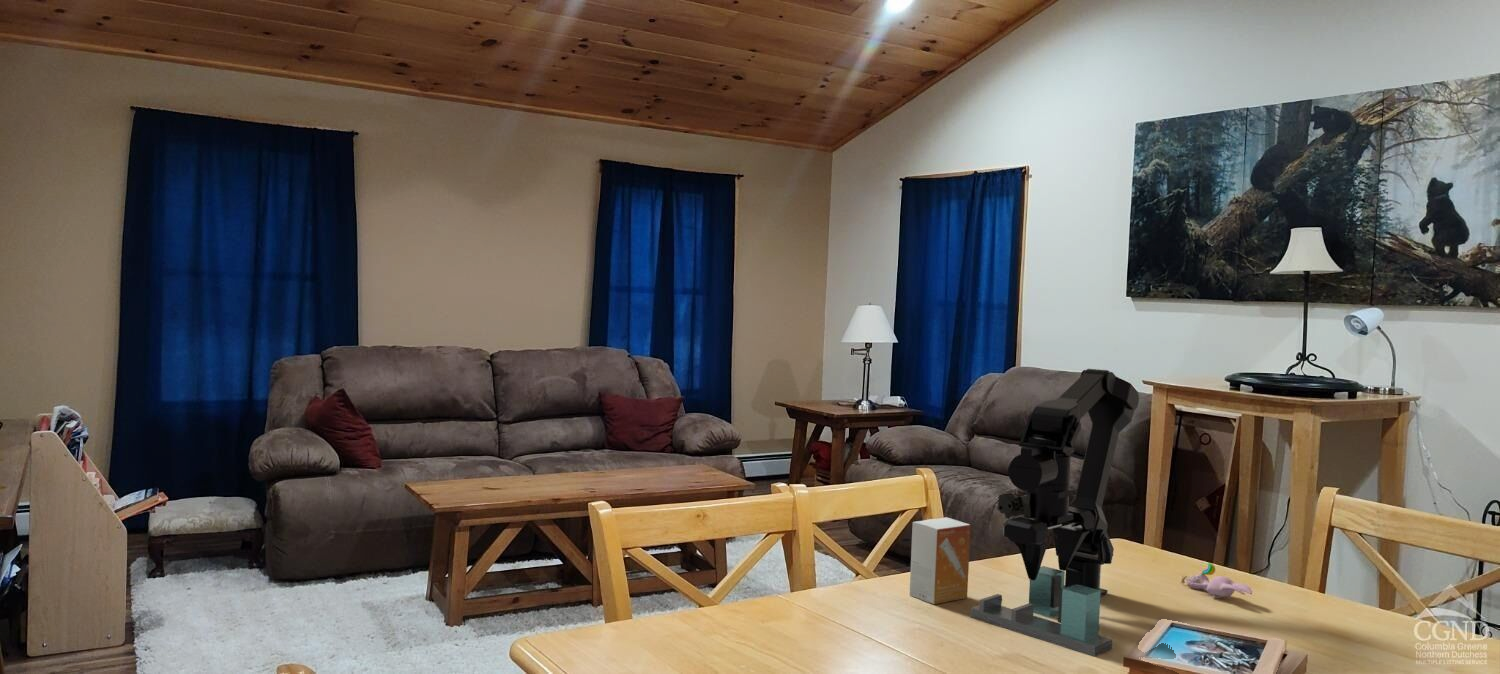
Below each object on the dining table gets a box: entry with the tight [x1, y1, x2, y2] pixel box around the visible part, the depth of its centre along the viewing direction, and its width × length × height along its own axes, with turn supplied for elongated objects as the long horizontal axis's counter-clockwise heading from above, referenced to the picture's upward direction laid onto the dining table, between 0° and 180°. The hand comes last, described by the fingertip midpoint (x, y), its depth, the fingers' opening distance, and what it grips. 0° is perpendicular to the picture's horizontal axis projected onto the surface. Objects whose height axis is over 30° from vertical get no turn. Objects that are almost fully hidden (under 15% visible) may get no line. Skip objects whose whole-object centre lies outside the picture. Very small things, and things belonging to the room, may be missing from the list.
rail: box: [970, 584, 1113, 657], centre depth 159 cm, size 5×22×8 cm, turn 42°
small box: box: [909, 516, 971, 605], centre depth 176 cm, size 8×6×13 cm
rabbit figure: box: [1180, 562, 1253, 599], centre depth 182 cm, size 6×6×15 cm
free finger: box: [1028, 565, 1066, 618], centre depth 169 cm, size 4×5×7 cm
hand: (1047, 574), depth 170 cm, fingers open, 9 cm apart
